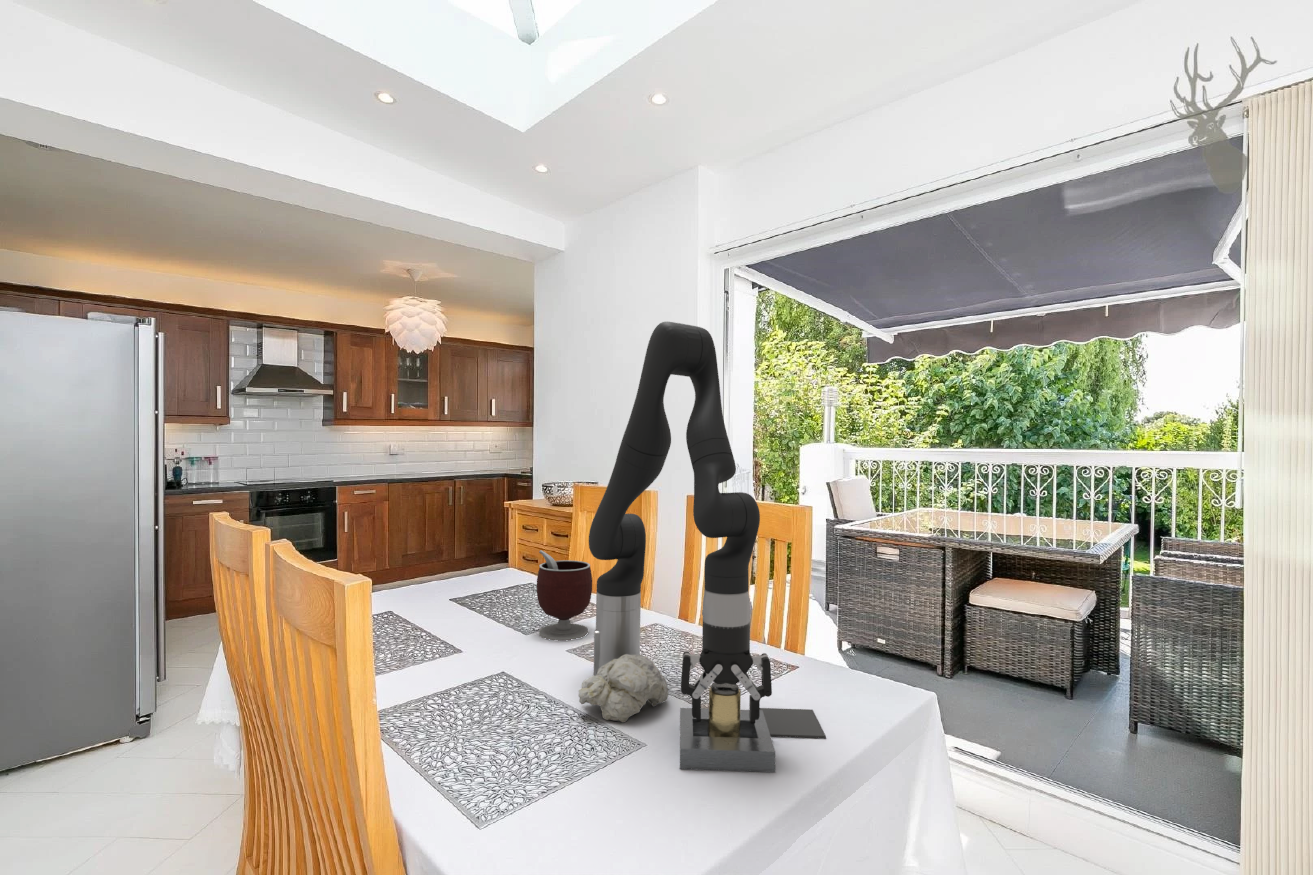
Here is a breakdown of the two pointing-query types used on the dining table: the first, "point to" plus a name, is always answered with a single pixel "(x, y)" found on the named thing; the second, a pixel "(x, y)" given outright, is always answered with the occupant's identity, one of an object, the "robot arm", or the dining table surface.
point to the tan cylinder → (724, 710)
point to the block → (725, 745)
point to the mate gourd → (563, 596)
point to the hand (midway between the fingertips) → (725, 720)
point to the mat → (793, 723)
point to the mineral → (624, 687)
